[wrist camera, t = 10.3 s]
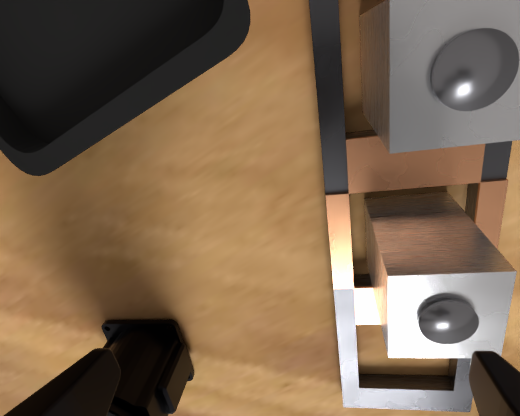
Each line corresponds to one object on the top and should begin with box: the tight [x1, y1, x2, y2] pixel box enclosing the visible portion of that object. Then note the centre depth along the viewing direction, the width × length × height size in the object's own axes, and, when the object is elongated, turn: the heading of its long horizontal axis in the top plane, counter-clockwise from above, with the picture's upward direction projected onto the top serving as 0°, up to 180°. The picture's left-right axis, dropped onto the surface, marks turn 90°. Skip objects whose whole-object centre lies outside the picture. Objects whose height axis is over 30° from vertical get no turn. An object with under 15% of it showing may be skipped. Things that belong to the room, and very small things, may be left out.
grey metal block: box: [359, 0, 520, 154], centre depth 13 cm, size 4×4×8 cm
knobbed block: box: [364, 191, 517, 358], centre depth 17 cm, size 4×4×8 cm
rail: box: [309, 0, 512, 412], centre depth 20 cm, size 30×9×1 cm, turn 9°
